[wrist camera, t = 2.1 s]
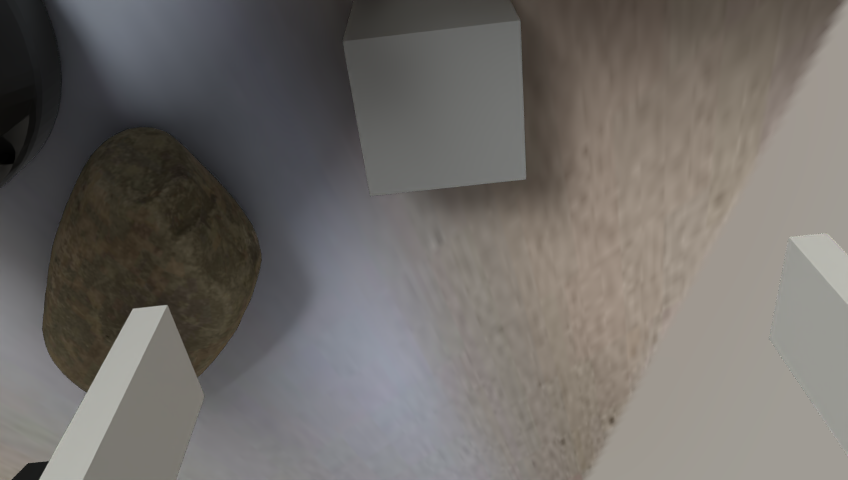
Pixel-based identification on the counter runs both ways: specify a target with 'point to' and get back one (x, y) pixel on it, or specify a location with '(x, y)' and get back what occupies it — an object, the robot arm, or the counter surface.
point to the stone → (146, 254)
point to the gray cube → (437, 92)
